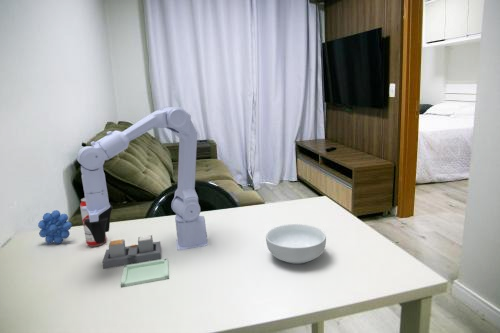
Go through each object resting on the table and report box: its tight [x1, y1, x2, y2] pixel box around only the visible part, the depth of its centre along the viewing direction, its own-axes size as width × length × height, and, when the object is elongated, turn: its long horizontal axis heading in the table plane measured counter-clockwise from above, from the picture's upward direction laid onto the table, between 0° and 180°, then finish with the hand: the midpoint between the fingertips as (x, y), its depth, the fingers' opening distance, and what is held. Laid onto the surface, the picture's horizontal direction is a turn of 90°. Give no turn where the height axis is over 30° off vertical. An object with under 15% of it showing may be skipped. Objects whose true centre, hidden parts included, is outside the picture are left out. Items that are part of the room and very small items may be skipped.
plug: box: [108, 238, 128, 258], centre depth 101 cm, size 4×4×6 cm
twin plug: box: [137, 234, 154, 254], centre depth 103 cm, size 4×4×6 cm
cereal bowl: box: [265, 223, 327, 265], centre depth 98 cm, size 17×17×7 cm
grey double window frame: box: [101, 241, 162, 270], centre depth 103 cm, size 16×8×3 cm, turn 104°
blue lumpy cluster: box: [38, 210, 73, 245], centre depth 117 cm, size 12×7×12 cm, turn 87°
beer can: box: [79, 197, 108, 248], centre depth 113 cm, size 6×6×16 cm
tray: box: [120, 258, 170, 288], centre depth 93 cm, size 12×10×1 cm
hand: (102, 237), depth 96 cm, fingers open, 7 cm apart
